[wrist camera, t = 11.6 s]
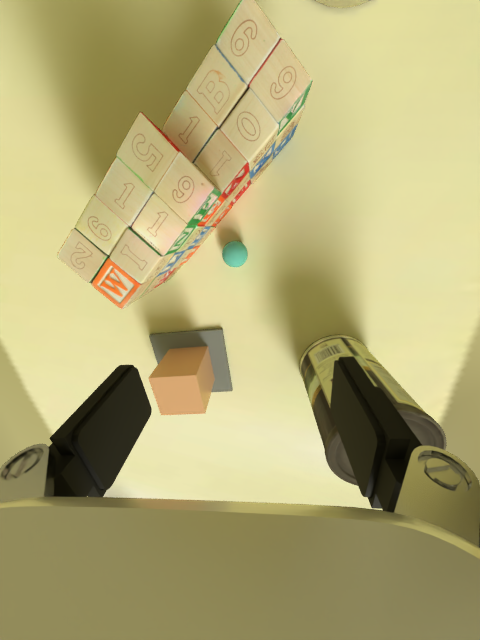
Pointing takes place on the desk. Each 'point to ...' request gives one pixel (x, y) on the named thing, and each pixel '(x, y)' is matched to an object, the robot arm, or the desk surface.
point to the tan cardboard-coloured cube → (183, 381)
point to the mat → (198, 339)
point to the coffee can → (320, 376)
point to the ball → (234, 254)
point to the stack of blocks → (190, 162)
